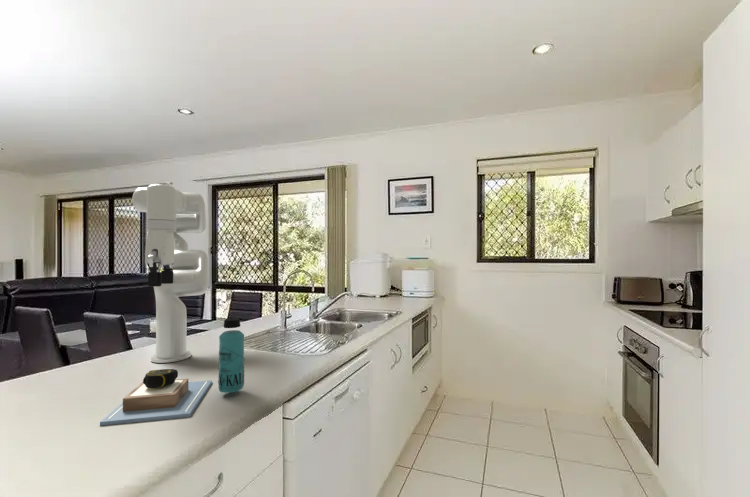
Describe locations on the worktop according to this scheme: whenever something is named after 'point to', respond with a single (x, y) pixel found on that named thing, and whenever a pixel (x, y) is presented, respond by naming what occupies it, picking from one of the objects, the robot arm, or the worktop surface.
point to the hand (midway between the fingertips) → (161, 284)
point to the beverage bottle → (231, 358)
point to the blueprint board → (164, 411)
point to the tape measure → (160, 378)
